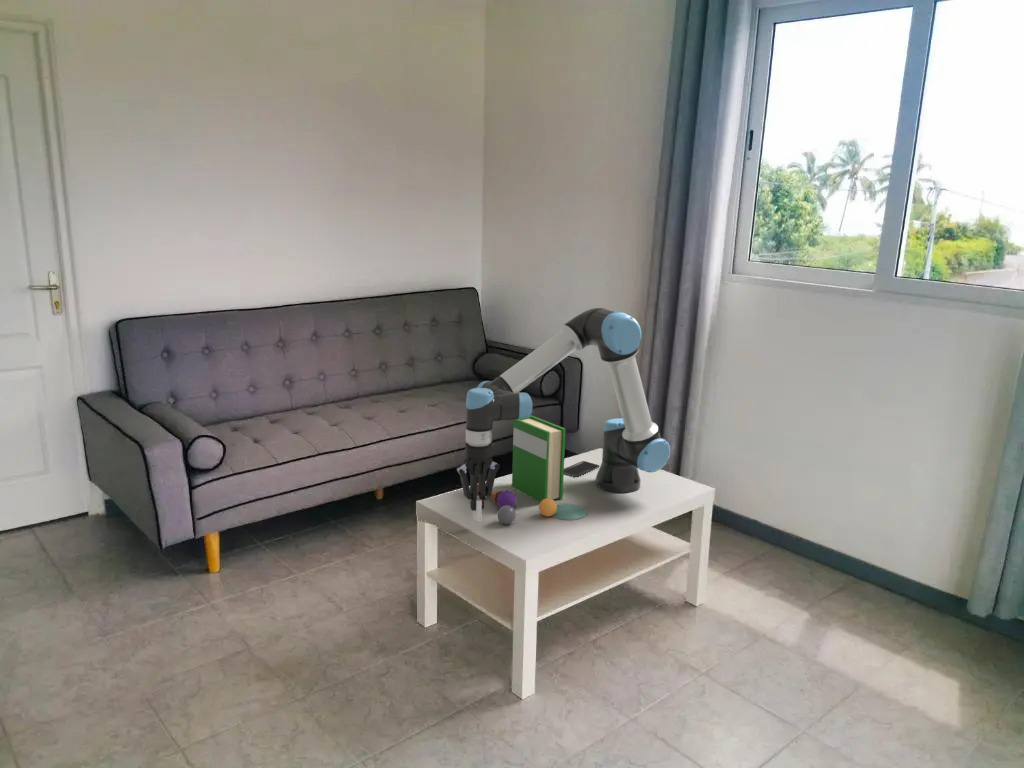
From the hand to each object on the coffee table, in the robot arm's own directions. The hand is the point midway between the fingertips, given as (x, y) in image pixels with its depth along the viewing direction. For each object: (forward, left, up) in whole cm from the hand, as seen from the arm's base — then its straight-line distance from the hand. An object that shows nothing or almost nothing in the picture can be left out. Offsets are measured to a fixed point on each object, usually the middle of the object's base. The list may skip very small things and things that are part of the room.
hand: (477, 519), depth 219 cm
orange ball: (-22, -8, 0) cm, 24 cm away
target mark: (-29, -10, -3) cm, 31 cm away
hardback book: (-22, -26, -3) cm, 34 cm away
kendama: (-6, -21, -3) cm, 22 cm away
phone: (-41, -47, -4) cm, 63 cm away
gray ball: (-9, -3, 0) cm, 10 cm away
